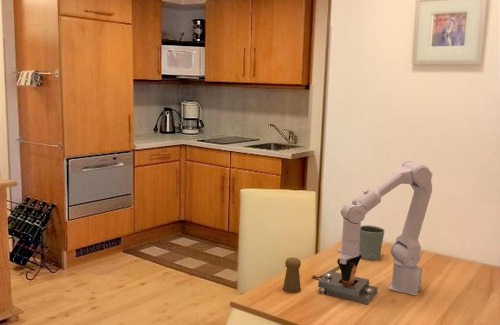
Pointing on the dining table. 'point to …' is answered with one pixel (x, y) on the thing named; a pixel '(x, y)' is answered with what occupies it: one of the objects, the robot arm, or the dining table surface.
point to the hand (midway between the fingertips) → (348, 278)
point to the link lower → (363, 298)
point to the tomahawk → (325, 273)
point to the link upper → (335, 283)
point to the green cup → (371, 242)
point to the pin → (351, 281)
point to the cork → (292, 276)
